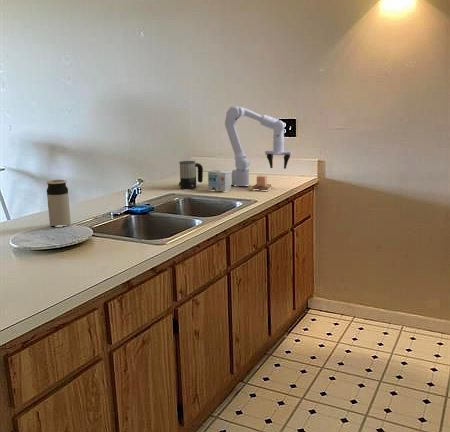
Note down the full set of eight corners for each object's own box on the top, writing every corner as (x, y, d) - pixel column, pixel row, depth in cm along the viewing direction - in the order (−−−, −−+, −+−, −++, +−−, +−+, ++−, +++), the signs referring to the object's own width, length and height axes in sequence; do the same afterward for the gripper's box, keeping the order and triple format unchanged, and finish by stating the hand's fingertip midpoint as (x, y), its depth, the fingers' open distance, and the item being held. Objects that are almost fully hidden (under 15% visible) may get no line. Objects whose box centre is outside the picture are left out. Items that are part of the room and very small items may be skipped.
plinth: (252, 190, 276) (252, 186, 275) (257, 188, 283) (257, 183, 282) (267, 191, 273) (267, 186, 272) (271, 188, 280) (271, 184, 280)
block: (256, 185, 276) (256, 176, 275) (259, 184, 280) (259, 175, 279) (264, 186, 274) (264, 177, 273) (267, 184, 278) (267, 175, 277)
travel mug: (72, 222, 211) (69, 179, 207) (67, 227, 203) (64, 182, 199) (53, 223, 211) (49, 179, 207) (47, 228, 203) (43, 183, 199)
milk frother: (188, 190, 279) (188, 163, 275) (167, 187, 288) (166, 161, 285) (205, 186, 290) (205, 160, 286) (184, 184, 299) (184, 158, 296)
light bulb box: (207, 191, 276) (207, 171, 274) (214, 189, 282) (213, 169, 280) (225, 192, 271) (225, 172, 269) (231, 190, 277) (231, 170, 275)
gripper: (263, 143, 279) (263, 168, 282) (290, 144, 274) (289, 169, 278) (267, 142, 286) (266, 166, 289) (292, 143, 281) (292, 167, 284)
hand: (278, 168), depth 284 cm, fingers open, 7 cm apart
